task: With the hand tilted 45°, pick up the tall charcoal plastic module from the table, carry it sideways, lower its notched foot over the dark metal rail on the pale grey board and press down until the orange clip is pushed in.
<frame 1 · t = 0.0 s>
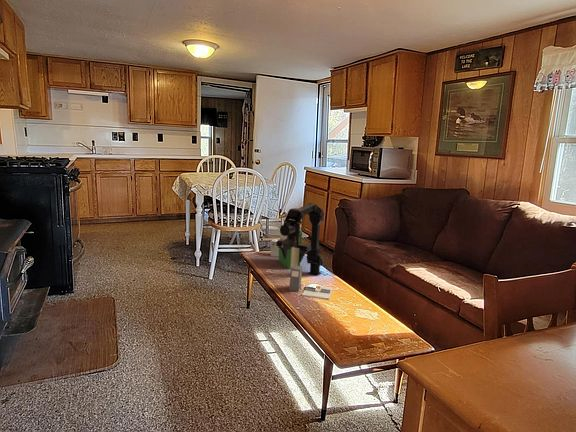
hand: (292, 260, 209), 15 cm above the table, tool pointing down, fingers open, 9 cm apart
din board: (317, 292, 207), on the table
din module: (295, 288, 209), on the table
light bulb box: (278, 255, 270), on the table
hardback book: (288, 264, 251), on the table
din rail: (318, 289, 206), on the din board, point 1 cm above the table
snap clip: (318, 287, 206), point 3 cm above the table, slide at 0.0 cm
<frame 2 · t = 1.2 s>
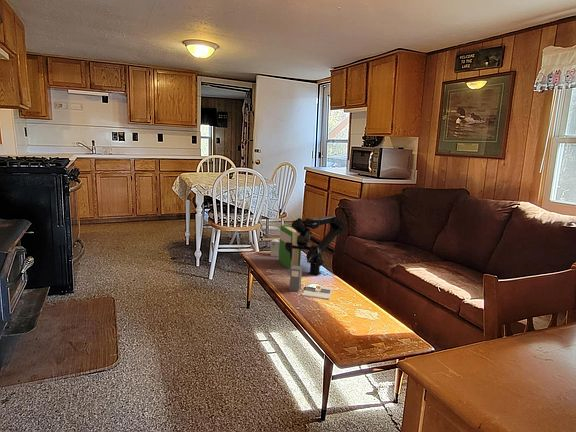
hand: (299, 261, 214), 13 cm above the table, tool tilted 45°, fingers open, 9 cm apart
nothing on the table moved.
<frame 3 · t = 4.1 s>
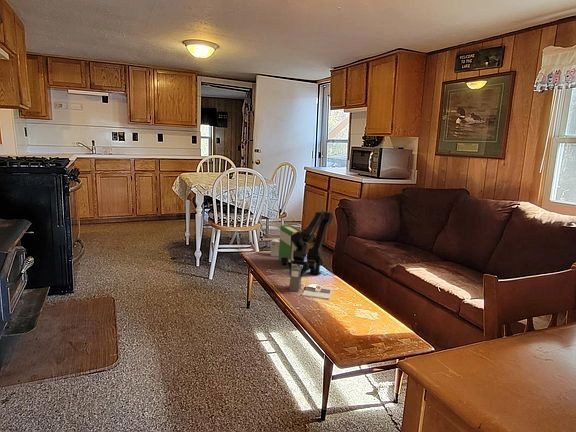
hand: (295, 277, 207), 7 cm above the table, tool tilted 45°, fingers closed on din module, 5 cm apart
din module: (295, 288, 209), on the table, touching gripper
everything else where it was.
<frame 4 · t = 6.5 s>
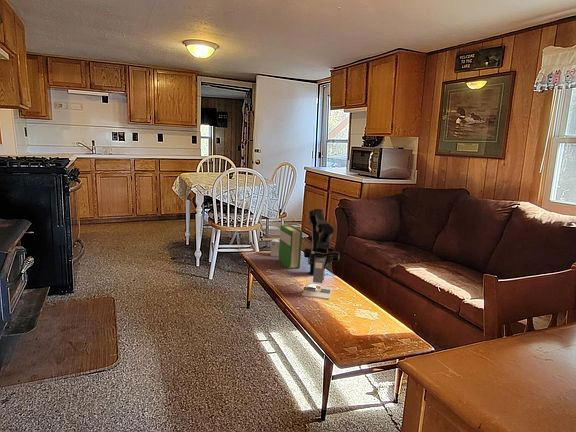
hand: (319, 268, 203), 13 cm above the table, tool tilted 45°, fingers closed on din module, 5 cm apart
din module: (318, 280, 206), point 6 cm above the table, touching gripper
everything else where it was.
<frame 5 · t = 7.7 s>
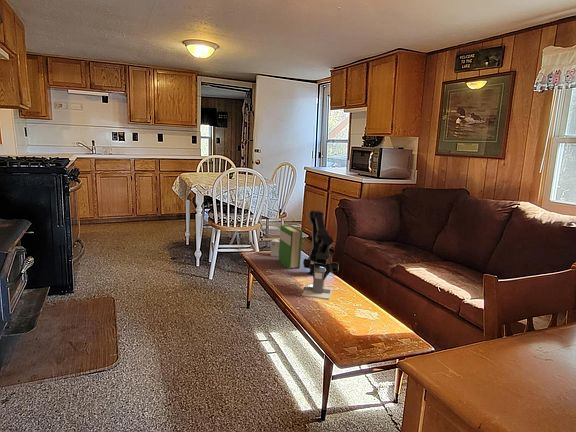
hand: (318, 279, 204), 8 cm above the table, tool tilted 45°, fingers closed on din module, 5 cm apart
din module: (318, 290, 207), point 1 cm above the table, touching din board, gripper
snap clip: (318, 289, 206), point 2 cm above the table, slide at 1.0 cm
everything else where it was.
when the fingers open (8 cm above the table, at t = 8.8 s): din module stays where it is, resting on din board.
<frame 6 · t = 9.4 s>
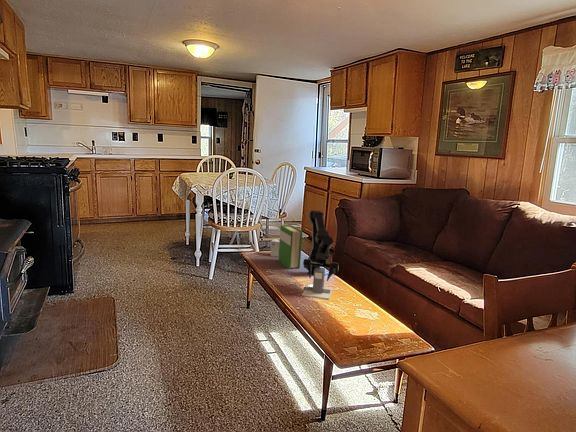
hand: (318, 279, 204), 7 cm above the table, tool tilted 45°, fingers open, 9 cm apart
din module: (318, 290, 207), point 1 cm above the table, touching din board
everything else where it was.
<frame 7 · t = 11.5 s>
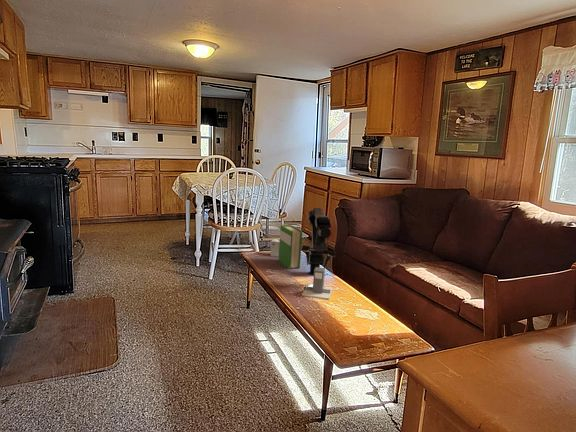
hand: (315, 266, 215), 11 cm above the table, tool tilted 20°, fingers open, 9 cm apart
nothing on the table moved.
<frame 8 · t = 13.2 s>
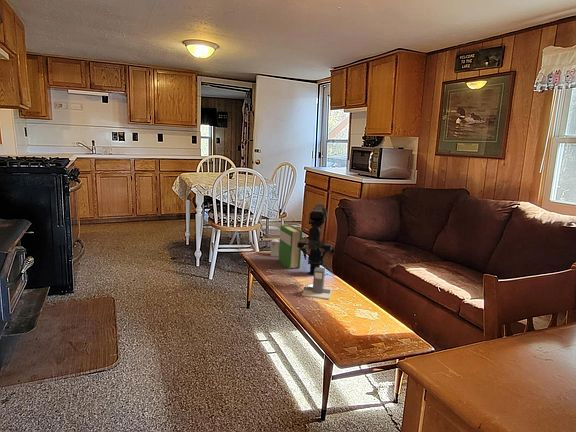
hand: (313, 260, 218), 13 cm above the table, tool pointing down, fingers open, 9 cm apart
nothing on the table moved.
at the end: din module 0.1 cm off-centre on the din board, point 0.6 cm above the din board's base; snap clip slide at 1.0 cm; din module tilted 0° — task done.
